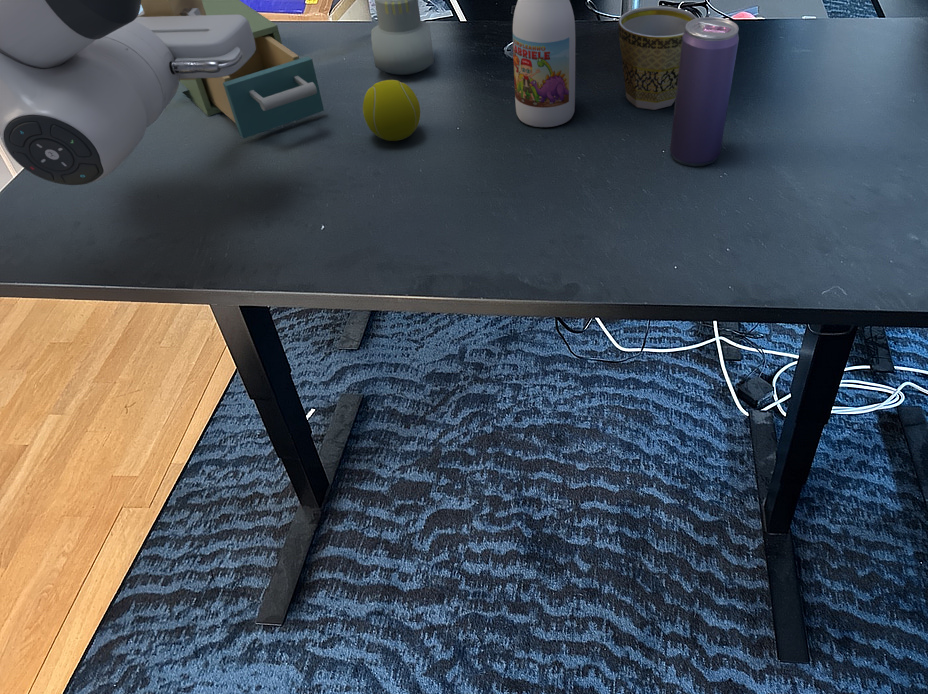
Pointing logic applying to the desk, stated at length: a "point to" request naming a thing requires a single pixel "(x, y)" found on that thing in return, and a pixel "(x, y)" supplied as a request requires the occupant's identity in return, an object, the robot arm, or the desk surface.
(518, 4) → the milk bottle
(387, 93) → the tennis ball
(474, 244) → the desk surface
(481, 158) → the desk surface
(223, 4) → the cabinet
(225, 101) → the drawer
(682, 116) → the beverage can
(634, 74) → the ceramic cup
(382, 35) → the air freshener
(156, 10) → the wooden block
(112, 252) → the desk surface
